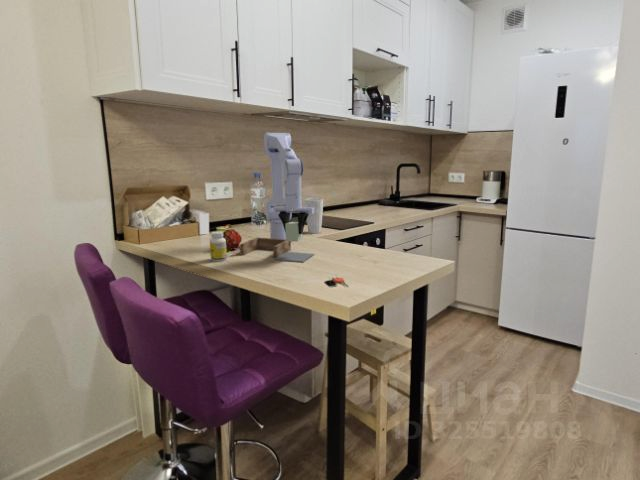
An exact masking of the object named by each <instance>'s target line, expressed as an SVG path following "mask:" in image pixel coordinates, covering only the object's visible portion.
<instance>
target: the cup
mask: <svg viewBox="0 0 640 480" xmlns="http://www.w3.org/2000/svg"><path fill="white" fill-rule="evenodd" d="M304 203H305V207H310V208H314V213H313V214H309V213H308V214H309V216H308V217H307V220H306V223H307V232H308V233H309V234H320V233H321V232H322V225H323V224H322V223H323V211H324V209H323V208H324V198H320V197H309V198H305V199H304Z"/></svg>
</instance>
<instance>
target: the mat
mask: <svg viewBox="0 0 640 480" xmlns="http://www.w3.org/2000/svg"><path fill="white" fill-rule="evenodd" d="M314 256H315V253H307V252H306V253H305V252H293V251H288V252H285V253H283V254H282V255H280V256H278V257H276V258H274V259H273V261H280V262H294V263H305V262H306V261H308V260H309V259H310V258H312V257H314Z"/></svg>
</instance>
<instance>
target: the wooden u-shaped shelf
mask: <svg viewBox="0 0 640 480" xmlns="http://www.w3.org/2000/svg"><path fill="white" fill-rule="evenodd" d="M239 246H240V255H241V256H245V255H247V254H249V253H252V252H254V251H255V250H258V249H261V250H273V258H274V259H275V258H276V257H278V256H280V255H282V254H283V253H285V252H291V248H292V247H291V242H290V241H286V239H271V237H269V238H268V237H255V238H252V239H250V240H248V241H244V242H243V243H242V242H241V243H240V244H239Z"/></svg>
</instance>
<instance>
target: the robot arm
mask: <svg viewBox="0 0 640 480" xmlns="http://www.w3.org/2000/svg"><path fill="white" fill-rule="evenodd" d="M291 136H292V135H291V133H289V132H268V131H267V132H264V135H263V147H264V148H263V149H264V150H263V151H264V154H265V156H268V157H269V163H270V176H271V177H270V178H271V198H270V199H268V200H267V202H266V203H265V219H266V221H268V222H269V228H270V229H269V233H270V237H269V238H271V239H286V227H285V224H286V223H289V222H290V220H291V219H292V216H293V215H292V214H296V217H297V222H298V224H299V234H302V235H303V233H304V228H305V226H306V225H305V224H306V223H307V217H308V216H309V214H313V213H314V208H310V207H306V206H302V205H303V202H302V200H303V199H302V198H303V197H302V196H303V195H302V177H303V175H304V162H303V159H302V158H298V157H297V155H296V153H295V151H294V149H293V148H291V145H292V137H291ZM308 213H309V214H308ZM291 242H293V241H290V243H291Z"/></svg>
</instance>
